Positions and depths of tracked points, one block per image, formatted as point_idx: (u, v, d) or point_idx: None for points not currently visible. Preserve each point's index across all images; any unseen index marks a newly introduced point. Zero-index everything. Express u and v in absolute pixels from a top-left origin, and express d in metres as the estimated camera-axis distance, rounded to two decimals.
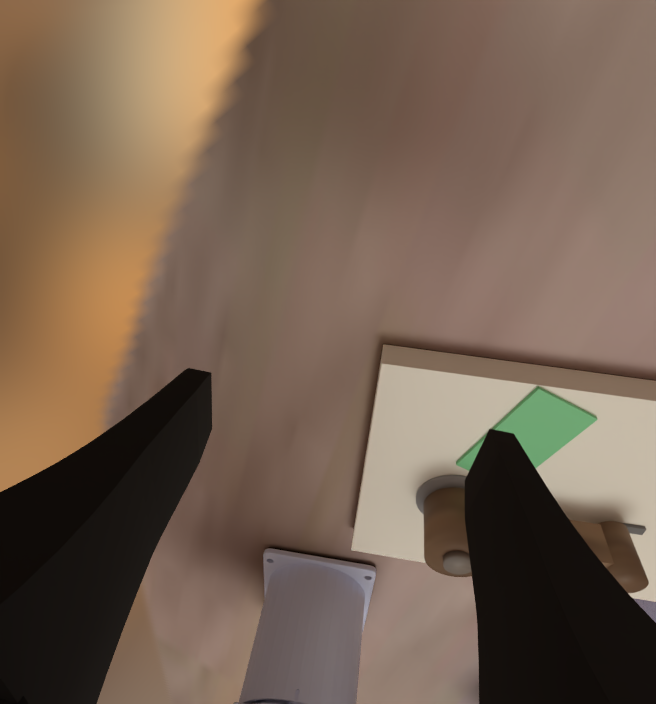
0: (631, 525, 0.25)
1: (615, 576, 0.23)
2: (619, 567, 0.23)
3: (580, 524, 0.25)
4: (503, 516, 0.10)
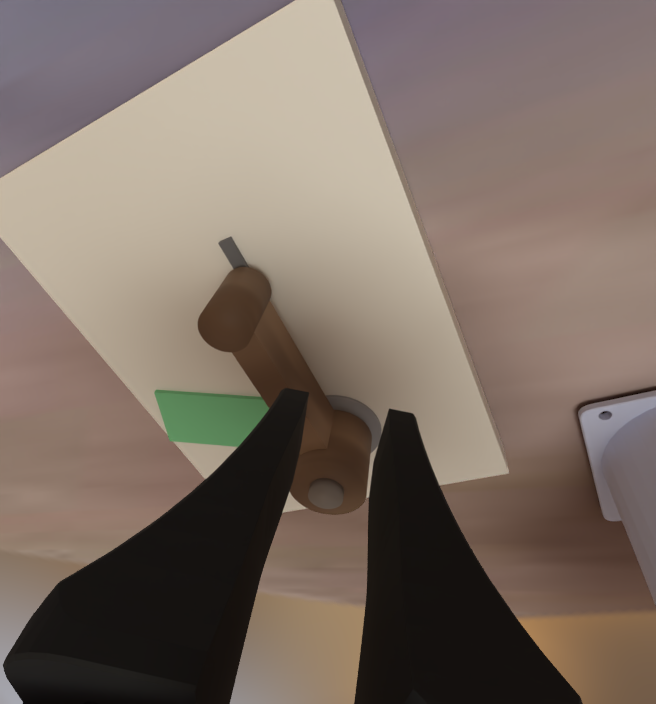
0: (231, 255, 0.18)
1: (225, 349, 0.16)
2: None
3: None
4: (386, 492, 0.10)
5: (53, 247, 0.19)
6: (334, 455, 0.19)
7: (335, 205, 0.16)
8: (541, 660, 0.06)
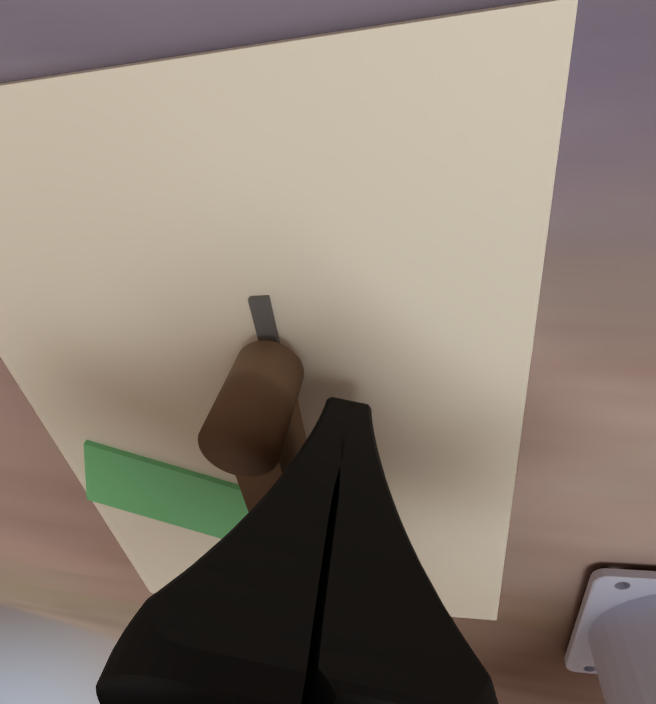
0: (259, 317, 0.12)
1: (229, 470, 0.11)
2: None
3: None
4: None
5: None
6: None
7: (435, 302, 0.11)
8: (457, 641, 0.06)
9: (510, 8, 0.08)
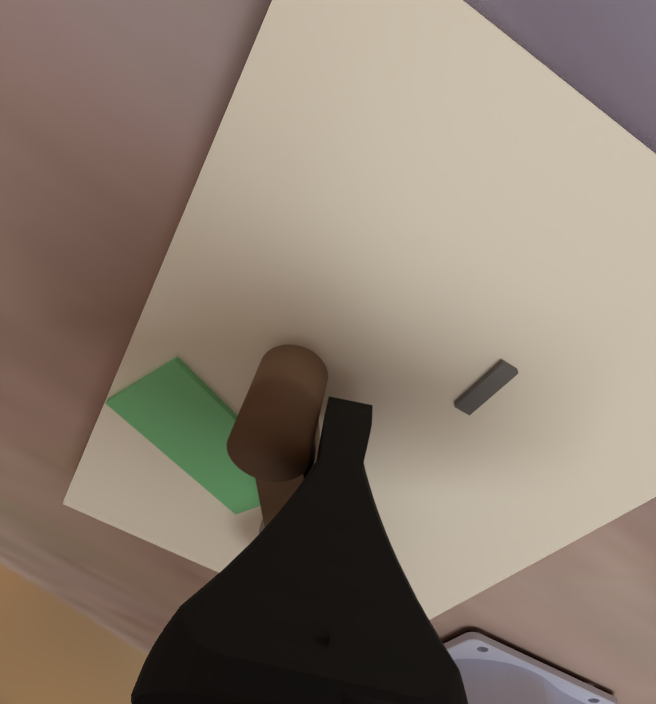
0: (487, 376, 0.12)
1: (254, 474, 0.11)
2: None
3: None
4: None
5: (327, 123, 0.09)
6: None
7: (618, 448, 0.13)
8: (428, 635, 0.06)
9: None
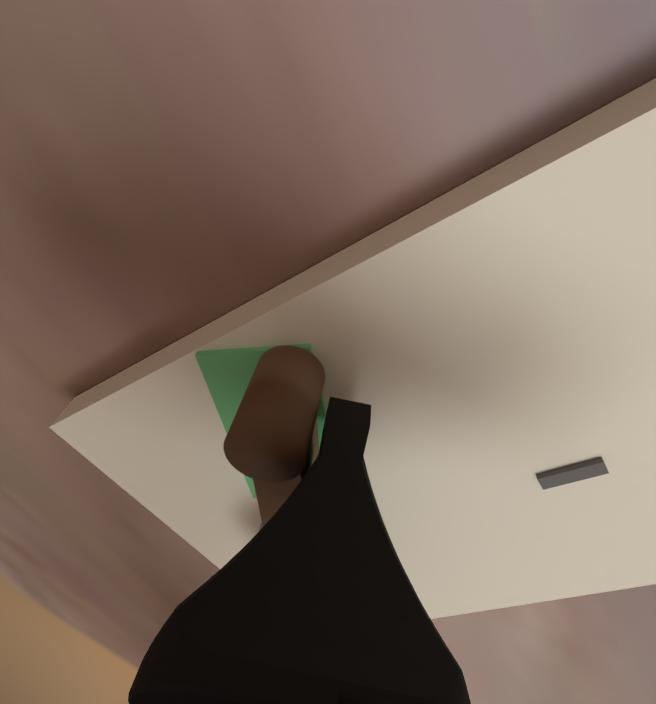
0: (578, 464, 0.14)
1: (251, 474, 0.11)
2: None
3: None
4: None
5: (625, 221, 0.10)
6: None
7: (629, 548, 0.15)
8: (430, 636, 0.06)
9: None
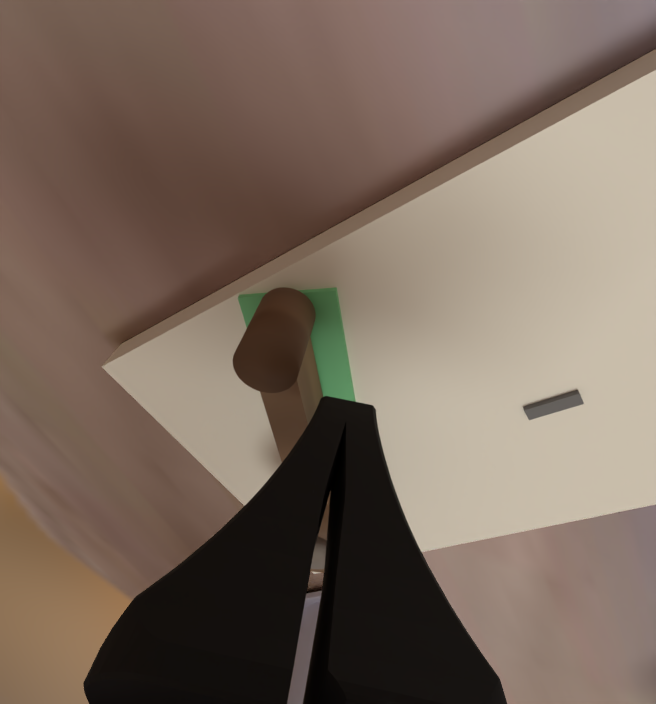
0: (559, 397, 0.16)
1: (257, 387, 0.13)
2: None
3: None
4: (340, 482, 0.10)
5: (595, 182, 0.12)
6: None
7: (602, 476, 0.18)
8: (466, 644, 0.06)
9: None
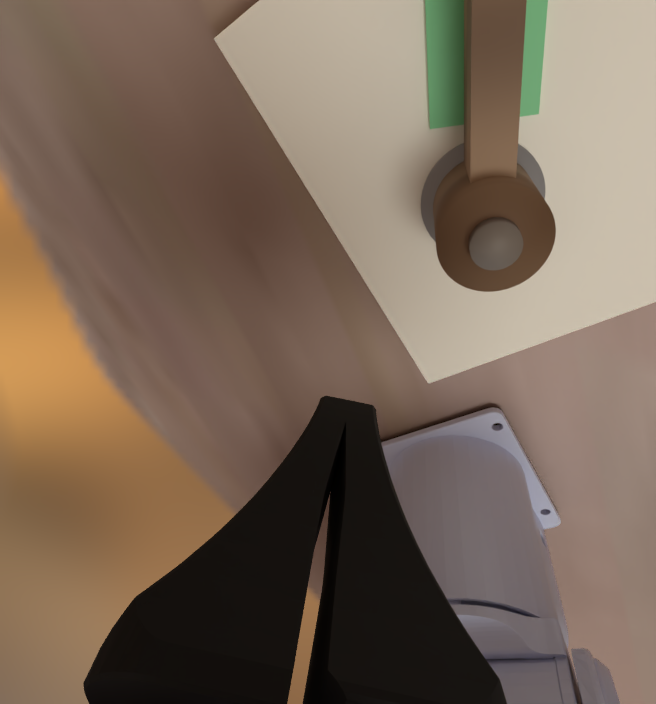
0: None
1: None
2: None
3: None
4: (340, 482, 0.10)
5: None
6: (528, 185, 0.13)
7: None
8: (466, 643, 0.06)
9: None
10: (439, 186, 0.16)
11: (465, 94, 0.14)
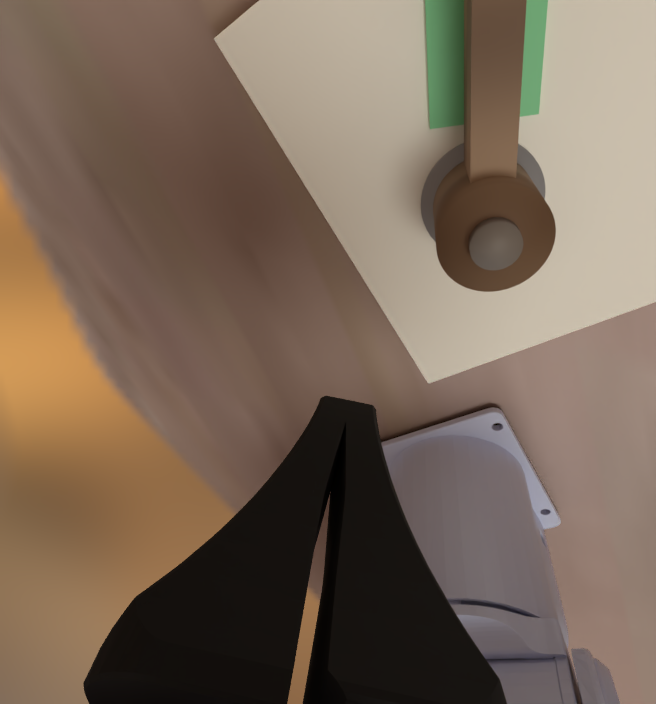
0: None
1: None
2: None
3: None
4: (340, 482, 0.10)
5: None
6: (528, 185, 0.13)
7: None
8: (466, 643, 0.06)
9: None
10: (439, 186, 0.16)
11: (465, 94, 0.14)
